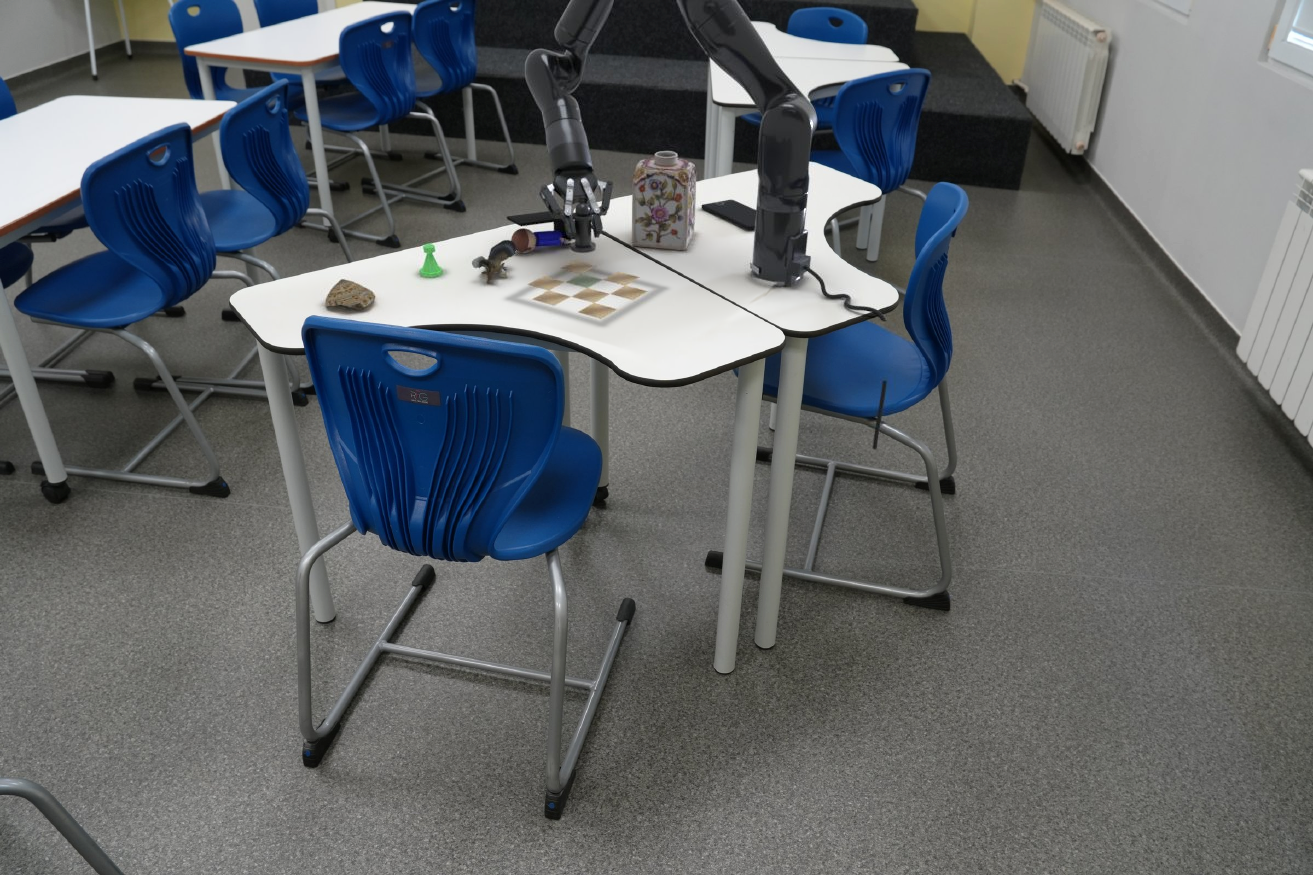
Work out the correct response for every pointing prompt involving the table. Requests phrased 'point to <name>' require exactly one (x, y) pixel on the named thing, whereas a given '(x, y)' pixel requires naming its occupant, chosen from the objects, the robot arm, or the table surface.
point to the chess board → (588, 293)
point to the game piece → (430, 263)
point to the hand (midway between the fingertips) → (585, 236)
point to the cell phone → (733, 213)
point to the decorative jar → (663, 202)
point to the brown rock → (349, 295)
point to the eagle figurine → (496, 259)
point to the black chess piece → (583, 229)
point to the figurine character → (529, 239)
